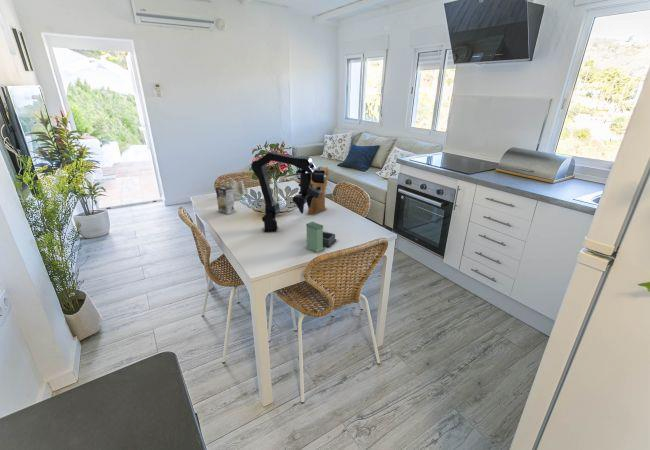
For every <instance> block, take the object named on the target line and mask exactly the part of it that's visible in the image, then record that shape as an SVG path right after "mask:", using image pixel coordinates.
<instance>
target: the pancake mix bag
mask: <svg viewBox="0 0 650 450" xmlns="http://www.w3.org/2000/svg"><path fill="white" fill-rule="evenodd" d="M319 170H325V173H326V182H325V184H323V183H314V182H312V179H311V183H313V187H316V188H317V187H319V186H321V187H322V193H321V195H320V197H319V198H315V197H314V198H313V200H312V204H311V207H310V208H308V207H307V215H317V214H318V213H321V212H324V211H326V191H327V188H328V187H327V186H328V179H329V167H328V166H326V167H323V168H320V169H319ZM311 176H312V174H311Z"/></svg>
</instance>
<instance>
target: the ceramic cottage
mask: <svg viewBox="0 0 650 450" xmlns="http://www.w3.org/2000/svg"><path fill="white" fill-rule="evenodd" d="M225 186H228V187H232V188H233V196H234V201H240V200H242V199H241V197H242V196H243V195H244V194H249V191H248V190H249V189H248V188H247V187H246V186H245V185H244V181H243V180H240V182H237V181H235V180H234V178H232V179H231V182H229V184H228V183H226V185H225Z"/></svg>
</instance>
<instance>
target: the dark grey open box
mask: <svg viewBox="0 0 650 450" xmlns="http://www.w3.org/2000/svg"><path fill="white" fill-rule="evenodd" d="M336 242H337V239H336V233H330V232H327V231H323V247H326V248H331V247H332V246H333V245H334V244H335V243H336Z"/></svg>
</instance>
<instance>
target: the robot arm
mask: <svg viewBox="0 0 650 450" xmlns="http://www.w3.org/2000/svg"><path fill="white" fill-rule="evenodd" d="M270 162H278V163H282V164H286V165H292V166H294V167H295V168H297V170H296V171H295V174H299V183H298V187H299V191H298V194H296V195H294V196H293V197H292V202H293V203H294V204H295V205H296V207H297V208H298V210H299V212H300V214H304V209H305V205H307V209H308V208H310V207H311V204H312V200H313V198H314V197H315V198H319V197H320V195H321V193H322V187H321V186H319V187H317V188H316V187H313V183H311V179H312V182H314V183H323V184H325V182H326V173H325V170H320V169H317V167H316V166H315V164H314V163H313V159H312V157H310V156H309V155H298V156H297V155H296V156H295V155H289V154H285V153H280V152H276V151H269V152H267V153H266V154H265V155H264V156H262V157H261V158H258V159H256V160H253V161H252V163H251V164H250V166H251V169H252V172H253V174H254V175H255V176H256V177H257V179H258V182H259V186H260V189H261V193H262V196H263V199H264V200H263V201H264V202H265V203H264V204H265V205H264V213H265V215H264V216H262V217H261V220H262V222H263V226H264V227H263V228H264V233H270V232H277V230H278V220H276V218H277V217H278V215H279V214H280V213H281V207H280V203H279V202H276V201H275V199H274V196H273V193H272V189H271V186H270V182H269V179H268V164H269V163H270ZM311 174H312V176H311Z"/></svg>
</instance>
